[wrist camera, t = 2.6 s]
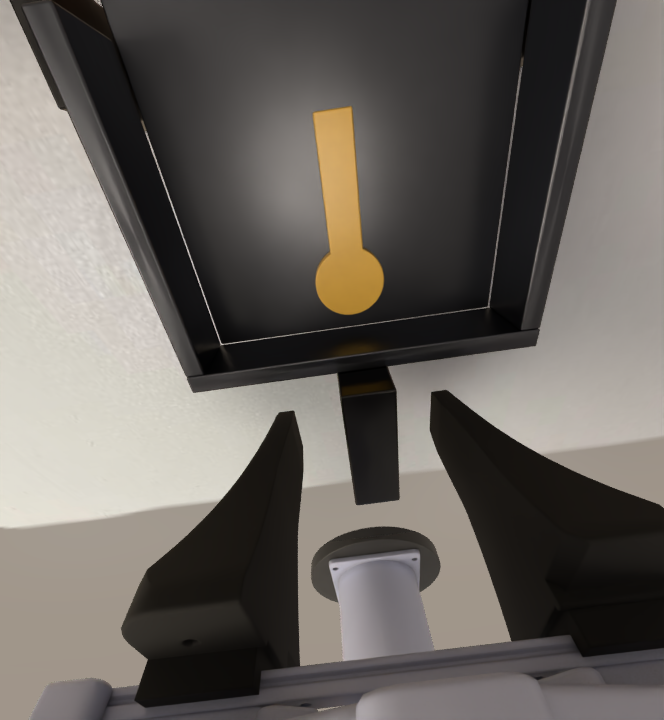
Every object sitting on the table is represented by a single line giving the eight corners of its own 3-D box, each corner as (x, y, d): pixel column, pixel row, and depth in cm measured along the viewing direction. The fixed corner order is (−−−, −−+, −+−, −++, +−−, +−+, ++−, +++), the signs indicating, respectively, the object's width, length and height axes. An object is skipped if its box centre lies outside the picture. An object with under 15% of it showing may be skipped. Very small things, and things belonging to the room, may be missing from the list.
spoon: (383, 306, 11) (386, 310, 10) (320, 314, 11) (321, 319, 11) (373, 104, 8) (376, 101, 8) (289, 118, 8) (288, 115, 8)
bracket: (508, 74, 11) (610, 22, 7) (143, 131, 11) (58, 110, 7) (521, -32, 9) (653, -162, 6) (109, 36, 10) (-14, -49, 6)
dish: (479, 414, 14) (528, 484, 11) (249, 445, 15) (230, 522, 11) (554, -86, 7) (767, -316, 4) (80, -7, 7) (-115, -160, 4)
